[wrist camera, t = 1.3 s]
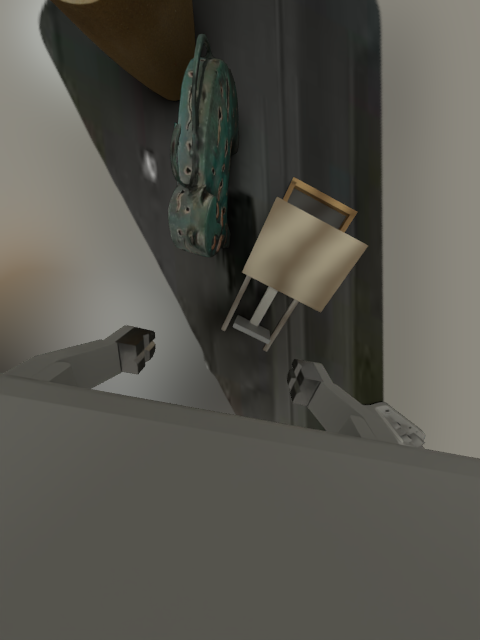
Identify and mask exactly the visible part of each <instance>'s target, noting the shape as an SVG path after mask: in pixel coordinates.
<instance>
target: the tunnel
mask: <svg viewBox="0 0 480 640" xmlns="http://www.w3.org/2000/svg"><path fill="white" fill-rule="evenodd" d="M356 214H357V211H355V210H353V209H351V208H349V207H347V206H346V205H344V204H342V203H340V202H338V201H336V200H335V199H333V198H331V197H329V196H327V195H325V194H324V193H322V192H320V191H318V190H316V189H315V188H313V187H311V186H309V185H307V184H305V183H304V182H302V181H300V180H298V179H296V178H294V177H293V180H292V182H291V184H290V186H289V188H288V190H287V192H286V194H285V196H284V198H283V200H282V199H280V198H278V197H277V198H276V200H275V202H274V204H273V206H272V209H271V211H270V213H269V215H268V217H267V219H266V222H265V224H264V226H263V228H262V230H261V232H260V235H259V237H258V239H257V241H256V243H255V245H254V248H253V250H252V252H251V254H250V256H249V258H248V260H247V263H246V265H245V267H244V269H243V271H242V273H244V274H246V275H247V276H246V278H245V280H244V282H243V285H242V287H241V289H240V291H239V293H238V295H237V297H236V299H235V301H234V303H233V305H232V308H231V310H230V312H229V314H228V316H227V318H226V320H225V322H224V324H223V326H222V328H221V330H223V331H225V330H226V328H227V326H228V324H229V322H230V320H231V318H232V316H233V314H234V312H235V310H236V308H237V306H238V304H239V302H240V300H241V297H242V295H243V293H244V291H245V289H246V287H247V285H248V283H249V281H250V279H251V277H252V278H254V279H256V280H258V281H260V282H262V283H264V284H266V285H268V286H270V287H272V288H273V289H275V290H277V291H279V292H281V293H283V294H285V295H287V296H289V297H291V298H293V301H292V303H291V304H290V306H289V307H288V309H287V311H286V312H285V314H284V315H283V317H282V319H281V320H280V322H279V323H278V325H277V327H276V328H275V330H274V332H273V333H272V335H271V336H270V340H271V341H270V342H269V344H265V346H264V348H263V350H264V351H266V352H267V350H268V349H269V347H270V346H271V344H272V343H273V341H274V339H275V338H276V336H277V335H278V333H279V332H280V330H281V328H282V327H283V325H284V324H285V322H286V321H287V319H288V317H289V316H290V314H291V313H292V311H293V310H294V308H295V306H296V305H297V303H298V302H301V303H303V304H305V305H307V306H309V307H311V308H313V309H315V310H317V311H319V312H321V311H322V310H323V309H324V307H325V306H326V304H327V303H328V301H329V300H330V299H331V297H332V296H333V294H334V293H335V292H336V290H337V289H338V287H339V286H340V285H341V283H342V282H343V280H344V279H345V278H346V276H347V275H348V273H349V272H350V270H351V269H352V268H353V266H354V265H355V263H356V262H357V261H358V259H359V258H360V256H361V255H362V254H363V252H364V251H365V249H366V248H367V247H368V245H366V244H364V243H362V242H360V241H359V240H357V239H355V238H353V237H351V236H349V235H347V234H345V233H344V232H345V231H346V229H347V228H348V226H349V225H350V223H351V221H352V220H353V218H354V217H355V215H356Z"/></svg>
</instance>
